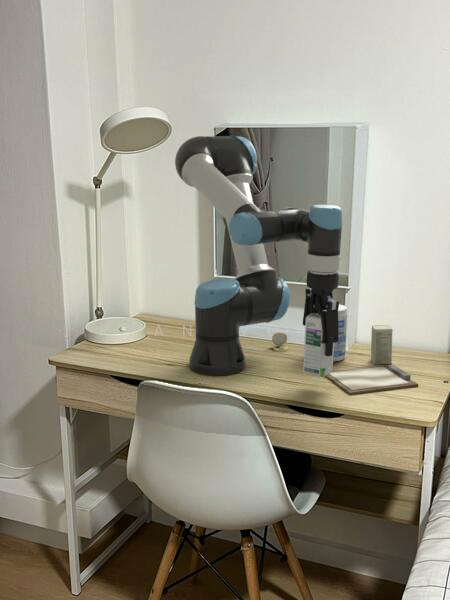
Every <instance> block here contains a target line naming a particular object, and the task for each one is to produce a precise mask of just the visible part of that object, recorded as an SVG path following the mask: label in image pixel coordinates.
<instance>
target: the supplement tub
mask: <svg viewBox="0 0 450 600" xmlns="http://www.w3.org/2000/svg"><path fill="white" fill-rule="evenodd" d="M323 311H326V310H323ZM347 322H348V309H347V306H346V305H344V304H340V303H339V308H338V332H339V341H338V342H335V343H334V353H333V363H335V362H339V361H342V360H344V359H345V357H346V350H347V349H346V345H347V343H346V341H347V329H348V327H347V326H348V323H347Z"/></svg>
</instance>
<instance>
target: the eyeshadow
mask: <svg viewBox="0 0 450 600" xmlns="http://www.w3.org/2000/svg"><path fill="white" fill-rule="evenodd" d="M271 337H272V338H271V339H272V343H273V344H274V345H275V346H274V345H273V351H274V352H277V353H285V352H288V351H289V347H288V346H287V345H285V344H286V343H287V341H288V337H287V334H286V332H283V331H276V332H274V334H273V335H272V336H271Z"/></svg>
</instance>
